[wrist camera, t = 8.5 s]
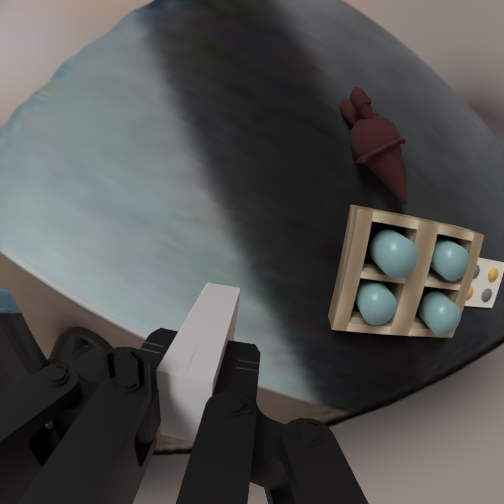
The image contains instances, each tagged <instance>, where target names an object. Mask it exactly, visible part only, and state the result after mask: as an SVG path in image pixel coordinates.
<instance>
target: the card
mask: <svg viewBox="0 0 504 504" xmlns="http://www.w3.org/2000/svg"><path fill="white" fill-rule="evenodd" d="M503 272H504V262H499V261H494V260H489V259H484V258H478V262H477V265H476V269H475V273H474V276H473V280H472V283H471V286H470V289H469V293H468V296H467V299H466V302H465V305H464V306H474V307H486V308H492V307H493V304H494V301H495V298H496V295H497V292H498V289H499V286H500V282H501V279H502V276H503Z"/></svg>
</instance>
